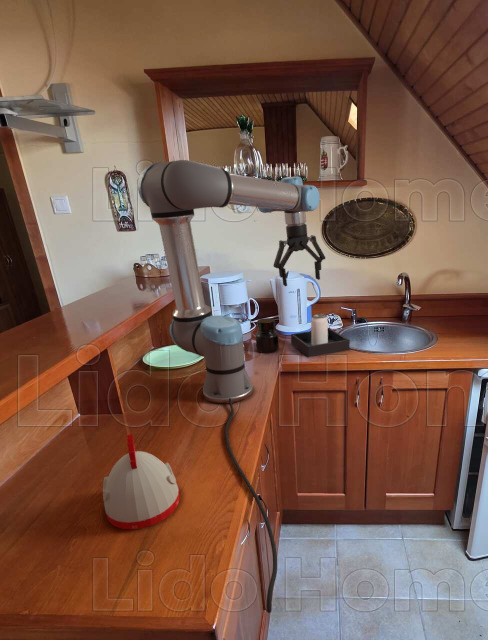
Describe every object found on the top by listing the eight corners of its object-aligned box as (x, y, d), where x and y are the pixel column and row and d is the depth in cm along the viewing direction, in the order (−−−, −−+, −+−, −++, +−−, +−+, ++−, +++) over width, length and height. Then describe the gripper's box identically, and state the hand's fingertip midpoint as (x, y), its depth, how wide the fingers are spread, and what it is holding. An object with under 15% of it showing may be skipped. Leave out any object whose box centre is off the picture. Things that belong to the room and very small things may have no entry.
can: (315, 341, 173) (314, 313, 168) (329, 343, 170) (329, 314, 165) (309, 346, 167) (308, 317, 162) (324, 348, 165) (324, 318, 160)
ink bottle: (283, 347, 169) (282, 318, 164) (272, 354, 162) (271, 324, 157) (263, 344, 173) (261, 316, 168) (251, 351, 166) (249, 322, 161)
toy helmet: (175, 476, 92) (164, 416, 86) (184, 516, 81) (172, 450, 74) (107, 493, 88) (90, 430, 81) (105, 538, 76) (86, 469, 70)
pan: (349, 349, 165) (349, 339, 163) (308, 356, 159) (308, 346, 157) (329, 337, 180) (329, 328, 178) (291, 343, 173) (291, 334, 172)
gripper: (323, 218, 159) (327, 274, 169) (260, 228, 152) (268, 285, 162) (331, 220, 152) (335, 278, 162) (266, 230, 145) (274, 290, 156)
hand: (301, 282), depth 162 cm, fingers open, 13 cm apart
